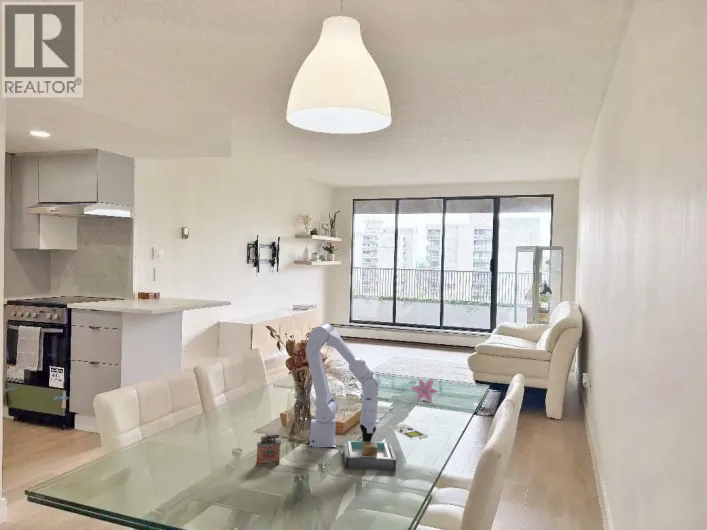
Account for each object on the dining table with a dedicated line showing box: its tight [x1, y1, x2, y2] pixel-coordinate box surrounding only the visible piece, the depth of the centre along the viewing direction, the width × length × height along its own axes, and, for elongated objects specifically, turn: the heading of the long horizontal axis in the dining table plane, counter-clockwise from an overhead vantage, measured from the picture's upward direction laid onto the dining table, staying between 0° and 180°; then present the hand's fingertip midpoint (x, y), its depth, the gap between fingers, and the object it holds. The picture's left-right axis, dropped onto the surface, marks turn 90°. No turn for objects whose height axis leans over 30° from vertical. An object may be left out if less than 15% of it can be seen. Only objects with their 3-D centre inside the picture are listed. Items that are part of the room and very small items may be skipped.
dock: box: [342, 440, 397, 472], centre depth 184 cm, size 17×14×4 cm
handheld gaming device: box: [389, 423, 429, 440], centre depth 214 cm, size 9×1×15 cm
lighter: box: [255, 433, 282, 468], centre depth 175 cm, size 8×3×10 cm, turn 118°
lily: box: [410, 378, 439, 404], centre depth 260 cm, size 12×12×10 cm
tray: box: [347, 440, 391, 458], centre depth 185 cm, size 14×14×4 cm
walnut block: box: [362, 441, 378, 457], centre depth 181 cm, size 4×4×6 cm
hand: (366, 445), depth 193 cm, fingers closed
